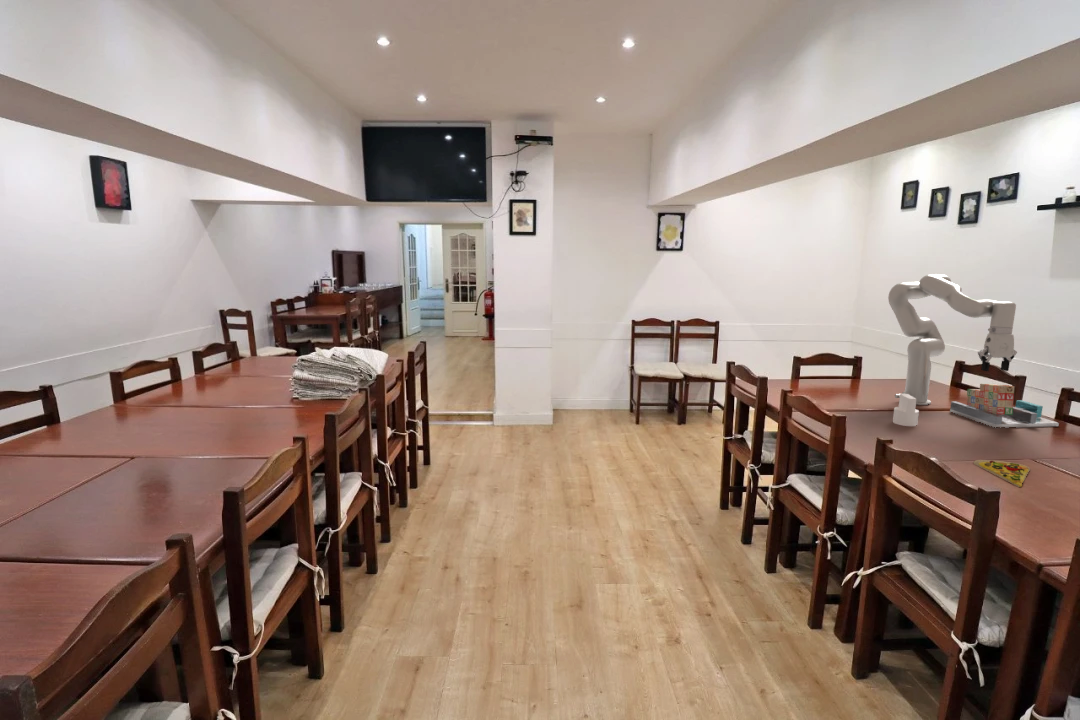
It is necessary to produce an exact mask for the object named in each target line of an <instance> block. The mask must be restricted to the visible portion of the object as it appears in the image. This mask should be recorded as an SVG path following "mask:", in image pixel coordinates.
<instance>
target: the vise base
mask: <svg viewBox="0 0 1080 720" xmlns="http://www.w3.org/2000/svg"><path fill="white" fill-rule="evenodd" d="M951 412H953V413H952V414H954V413H955V414H954V415H957V414H958V415H957V416H960V415H961V416H960V417H962V416H964V417H963V418H965V417H966V419H968V418H969V420H971V419H972V421H974V420H975V421H974V422H978V423H979V422H981V423H980V424H982V423H984V424H983V425H985V424H986V426H988V425H989V426H988V427H991V426H992V427H991V428H994V427H995V428H994V429H997V428H996V427H1000V428H999V429H1002V428H1001V427H1005V428H1004V429H1010V428H1009V427H1016V428H1041V427H1043V428H1044V427H1047V428H1048V427H1059V424H1060V423H1059V422H1057V421H1054V420H1050V419H1048V418H1044V417H1042V416H1041V417H1038V418H1036V423H1029V422H1026V421H1023V420H1019V419H1016V418H1013V417H1010V416H1007V415H1004V414H993V413H990V412H987V411H984V410H981V409H978V408H975V407H972V406H969V405H967V403H963V402H959V401H956V400H955V401H951V402H950V409H949V413H951Z"/></svg>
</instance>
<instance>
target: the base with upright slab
mask: <svg viewBox="0 0 1080 720" xmlns="http://www.w3.org/2000/svg"><path fill="white" fill-rule="evenodd" d="M899 394H900V398H898V399H899V400H898V406H895V407H894V408H893V415H892V417H893V418H892V422H893V424H895V425H900V426H904V427H905V426H906V427H917V426H918V423H919V415H920V410H919V409H916V406H917V405H916V398H914V397H912V396H910V395H909V394H902V393H899ZM916 425H917V426H916Z"/></svg>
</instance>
